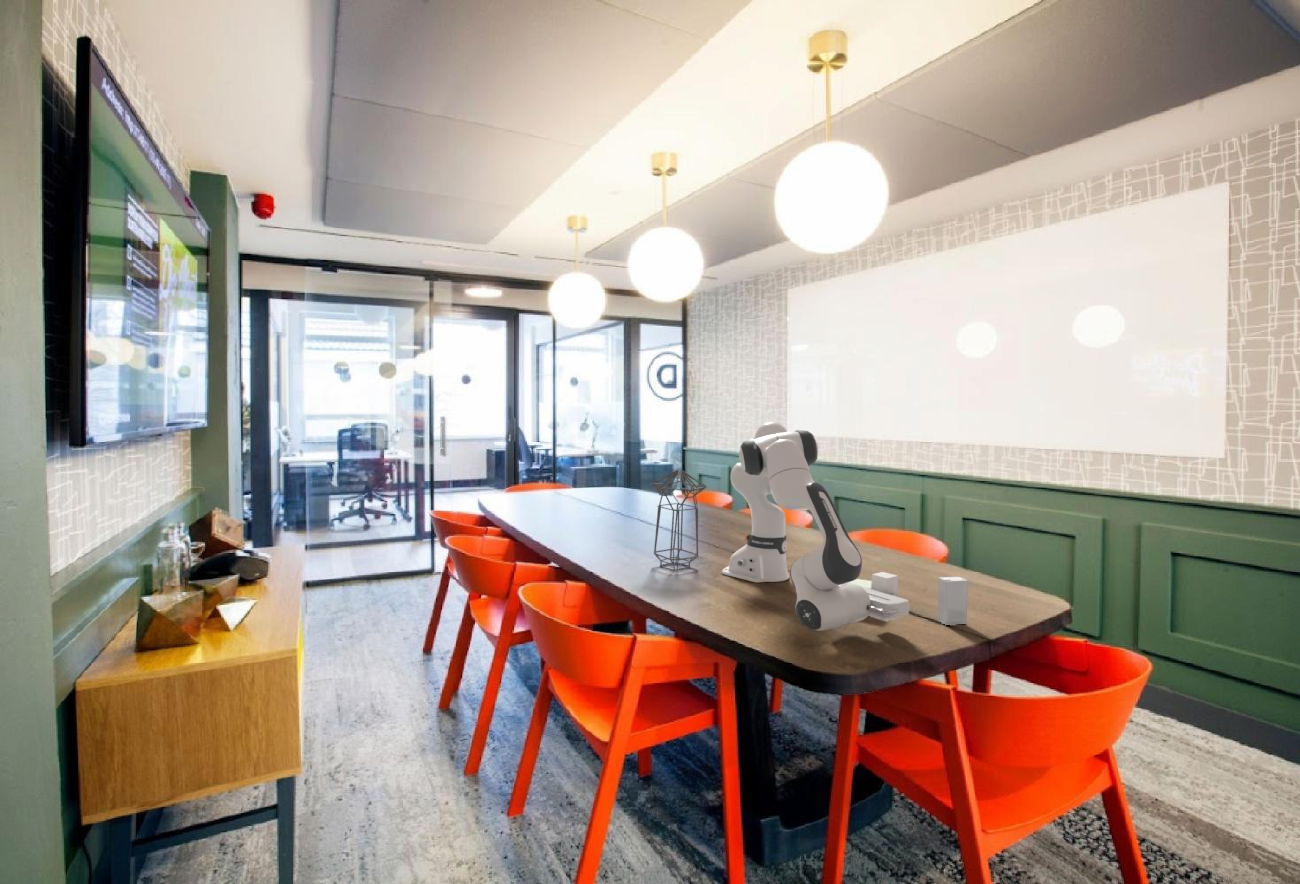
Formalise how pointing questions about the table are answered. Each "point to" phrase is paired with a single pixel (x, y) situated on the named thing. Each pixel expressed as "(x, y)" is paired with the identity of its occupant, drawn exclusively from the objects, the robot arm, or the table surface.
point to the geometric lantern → (677, 514)
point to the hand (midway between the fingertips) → (886, 593)
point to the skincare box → (952, 600)
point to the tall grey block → (884, 587)
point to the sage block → (862, 583)
